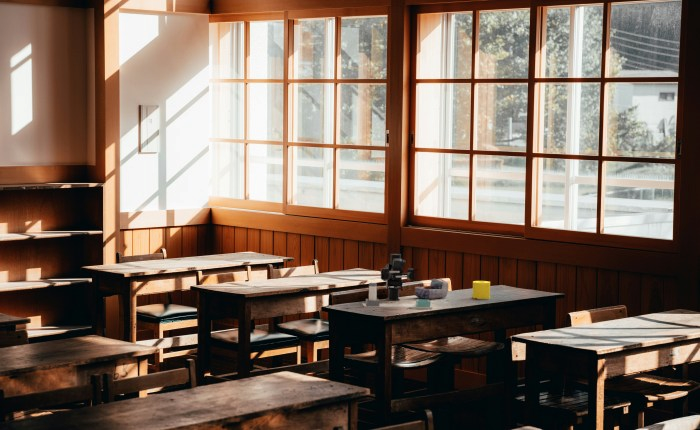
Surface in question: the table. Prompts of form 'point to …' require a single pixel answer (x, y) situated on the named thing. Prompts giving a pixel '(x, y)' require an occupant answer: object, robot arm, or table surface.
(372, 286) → the plug
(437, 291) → the grey armchair
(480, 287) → the yellow cube
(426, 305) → the panel
